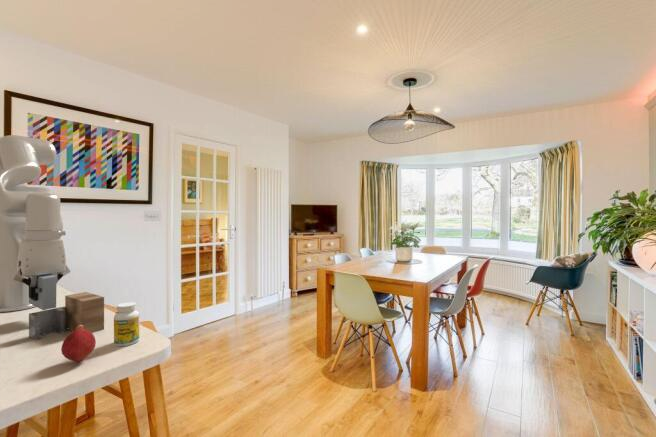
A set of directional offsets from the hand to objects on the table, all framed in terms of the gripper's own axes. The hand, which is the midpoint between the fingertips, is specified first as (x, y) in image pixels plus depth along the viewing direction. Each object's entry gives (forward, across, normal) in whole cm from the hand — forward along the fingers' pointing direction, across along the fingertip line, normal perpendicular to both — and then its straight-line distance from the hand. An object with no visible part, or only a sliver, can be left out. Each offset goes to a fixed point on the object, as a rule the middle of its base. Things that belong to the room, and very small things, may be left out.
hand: (42, 297), depth 94 cm
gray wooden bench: (+6, +2, +14) cm, 15 cm away
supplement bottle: (+5, -4, +36) cm, 37 cm away
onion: (+5, +7, +38) cm, 39 cm away
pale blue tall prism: (+2, 0, 0) cm, 2 cm away
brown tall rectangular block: (+6, -3, +18) cm, 19 cm away
